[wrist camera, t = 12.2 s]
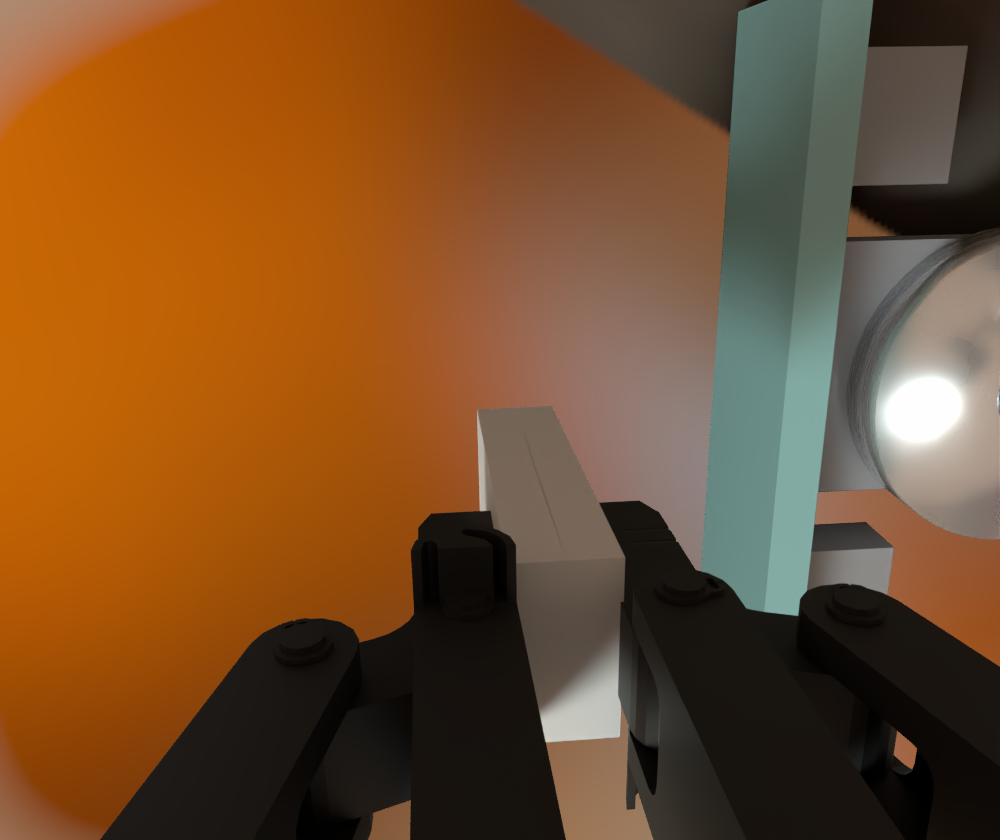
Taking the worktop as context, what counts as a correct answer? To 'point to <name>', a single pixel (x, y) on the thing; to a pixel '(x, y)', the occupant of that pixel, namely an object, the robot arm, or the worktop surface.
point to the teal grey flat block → (810, 283)
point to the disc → (936, 388)
